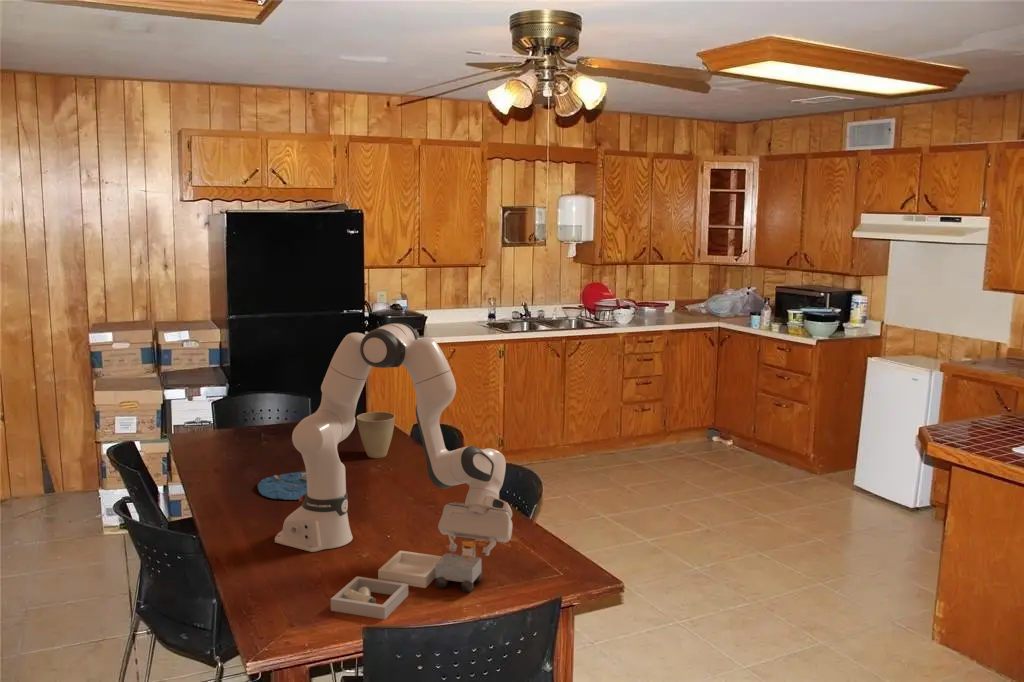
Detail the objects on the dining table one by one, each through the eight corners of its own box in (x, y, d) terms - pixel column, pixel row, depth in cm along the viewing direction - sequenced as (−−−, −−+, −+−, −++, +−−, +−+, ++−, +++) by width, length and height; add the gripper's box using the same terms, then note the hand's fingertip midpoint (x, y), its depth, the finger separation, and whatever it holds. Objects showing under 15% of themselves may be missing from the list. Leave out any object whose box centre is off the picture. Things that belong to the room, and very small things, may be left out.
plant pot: (355, 451, 336) (354, 413, 334) (392, 448, 341) (391, 410, 338) (360, 462, 322) (359, 422, 320) (398, 459, 327) (398, 419, 324)
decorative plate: (354, 479, 308) (355, 465, 307) (329, 506, 278) (329, 491, 278) (276, 472, 310) (277, 459, 310) (243, 499, 281) (243, 484, 280)
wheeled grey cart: (435, 588, 216) (434, 564, 215) (455, 566, 230) (455, 543, 229) (471, 593, 213) (471, 569, 212) (489, 570, 227) (489, 548, 226)
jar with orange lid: (460, 574, 224) (460, 542, 223) (464, 569, 228) (464, 537, 226) (472, 576, 223) (472, 544, 222) (477, 570, 227) (477, 539, 225)
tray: (378, 580, 220) (378, 570, 220) (400, 560, 233) (399, 550, 232) (425, 588, 216) (425, 577, 216) (445, 567, 229) (445, 556, 228)
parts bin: (330, 610, 204) (330, 598, 203) (357, 587, 216) (356, 576, 216) (384, 619, 199) (384, 607, 199) (408, 595, 212) (408, 584, 212)
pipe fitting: (362, 597, 212) (342, 605, 207) (362, 582, 212) (342, 590, 206) (385, 606, 208) (365, 614, 202) (385, 590, 207) (366, 598, 202)
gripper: (442, 496, 233) (429, 542, 225) (513, 504, 227) (502, 552, 219) (448, 506, 238) (435, 552, 230) (518, 514, 231) (507, 562, 224)
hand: (468, 552), depth 224 cm, fingers open, 8 cm apart
